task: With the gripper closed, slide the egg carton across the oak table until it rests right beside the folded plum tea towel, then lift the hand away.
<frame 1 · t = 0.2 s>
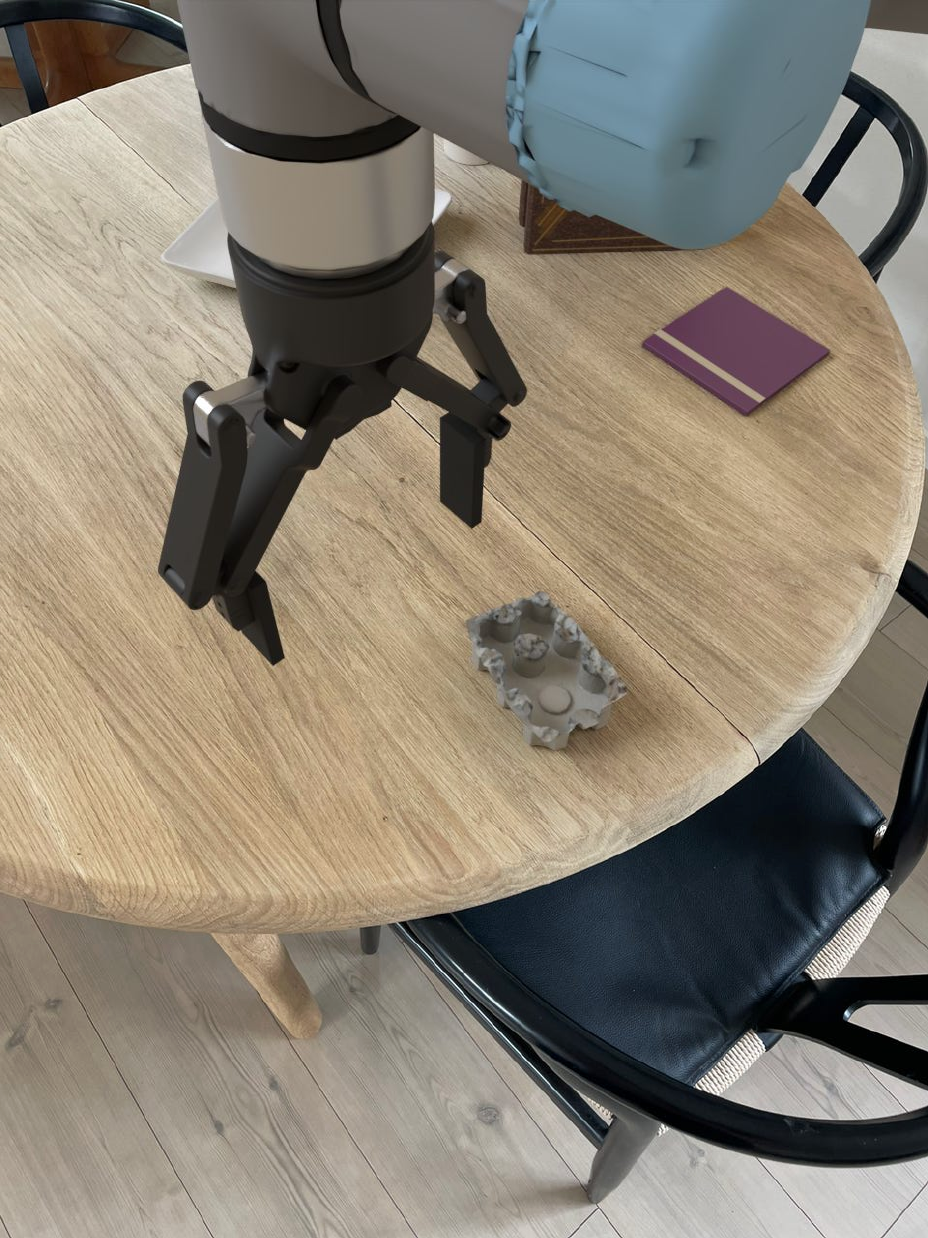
hand: (367, 575, 52), 16 cm above the table, tool pointing down, fingers open, 13 cm apart
vase: (495, 151, 106), on the table
plate: (315, 255, 95), on the table
book: (603, 234, 98), on the table
tea towel: (734, 350, 88), on the table
egg carton: (538, 685, 68), on the table
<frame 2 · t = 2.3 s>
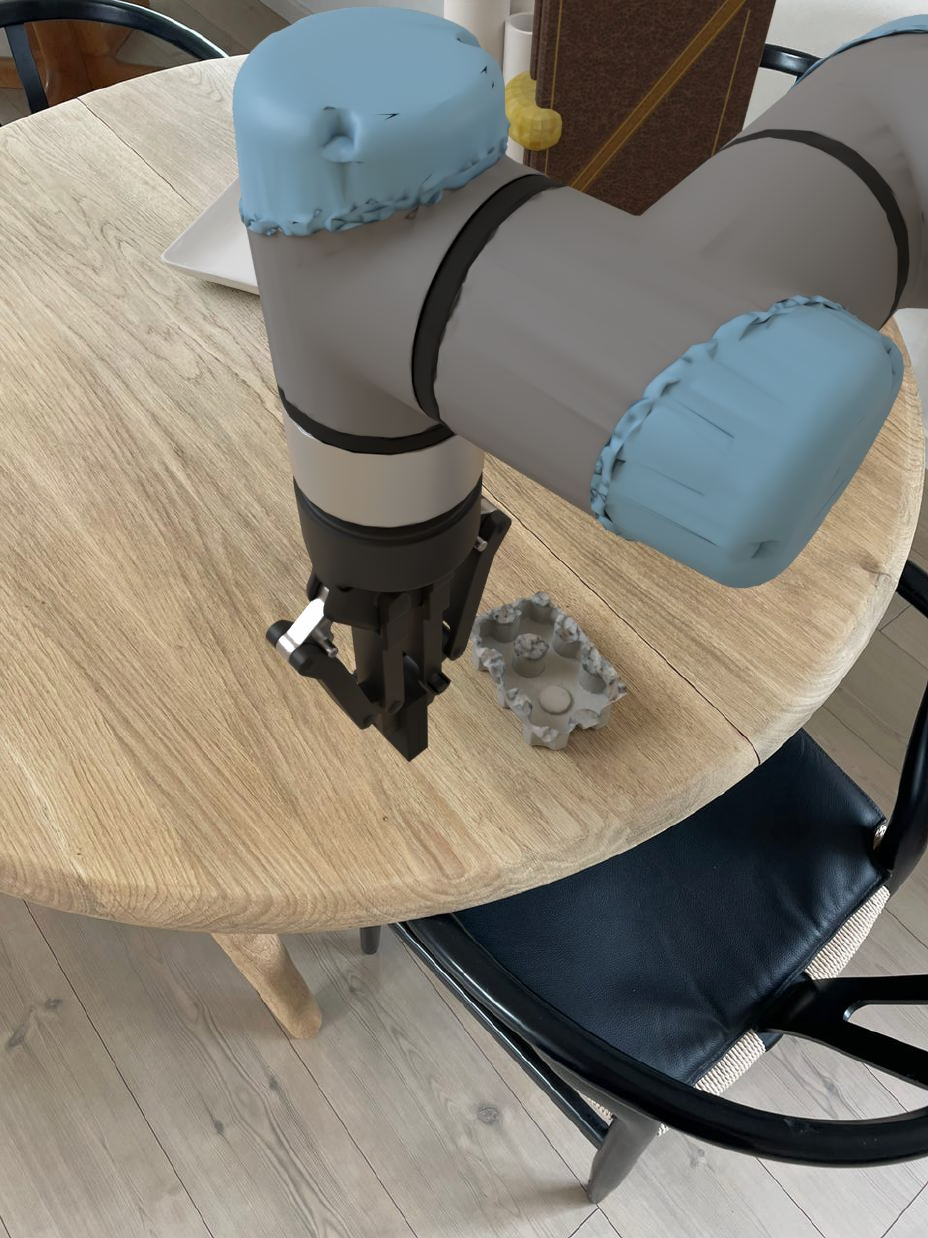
hand: (403, 739, 58), 7 cm above the table, tool pointing down, fingers closed
nothing on the table moved.
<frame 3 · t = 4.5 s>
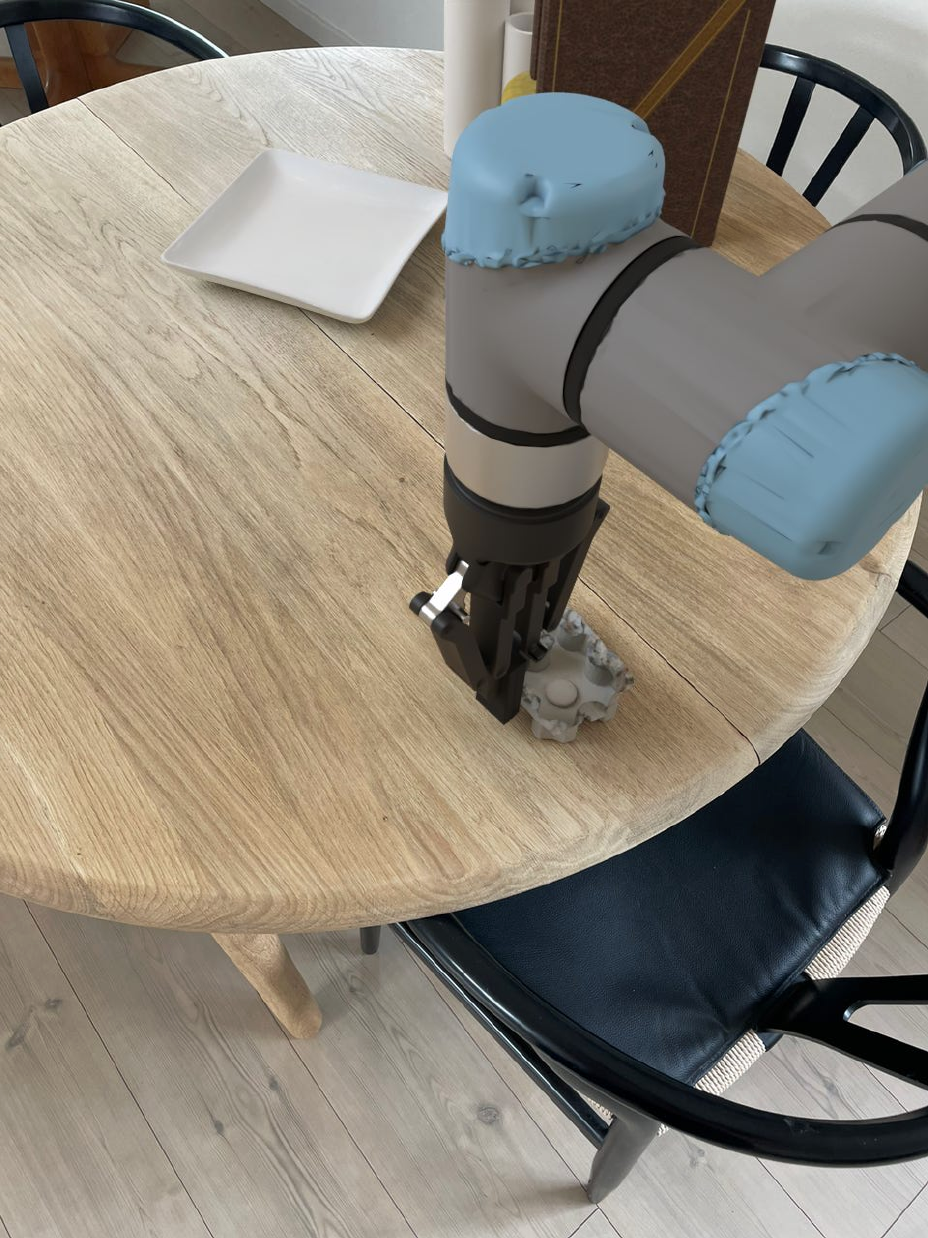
hand: (497, 705, 65), 2 cm above the table, tool pointing down, fingers closed
egg carton: (544, 679, 68), on the table, touching gripper
everything else where it was.
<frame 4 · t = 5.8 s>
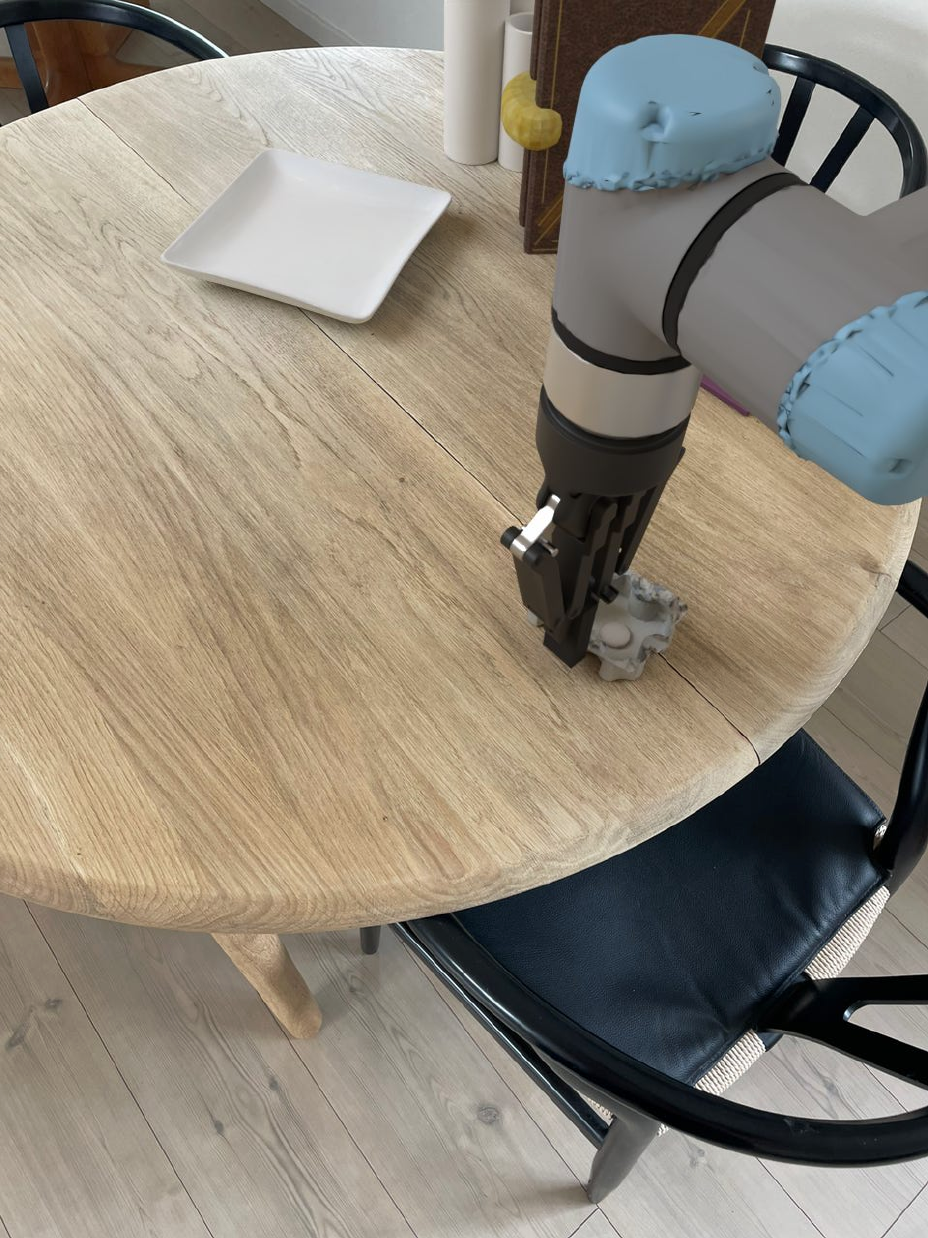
hand: (564, 650, 67), 2 cm above the table, tool pointing down, fingers closed
egg carton: (594, 626, 71), on the table, touching gripper
everything else where it was.
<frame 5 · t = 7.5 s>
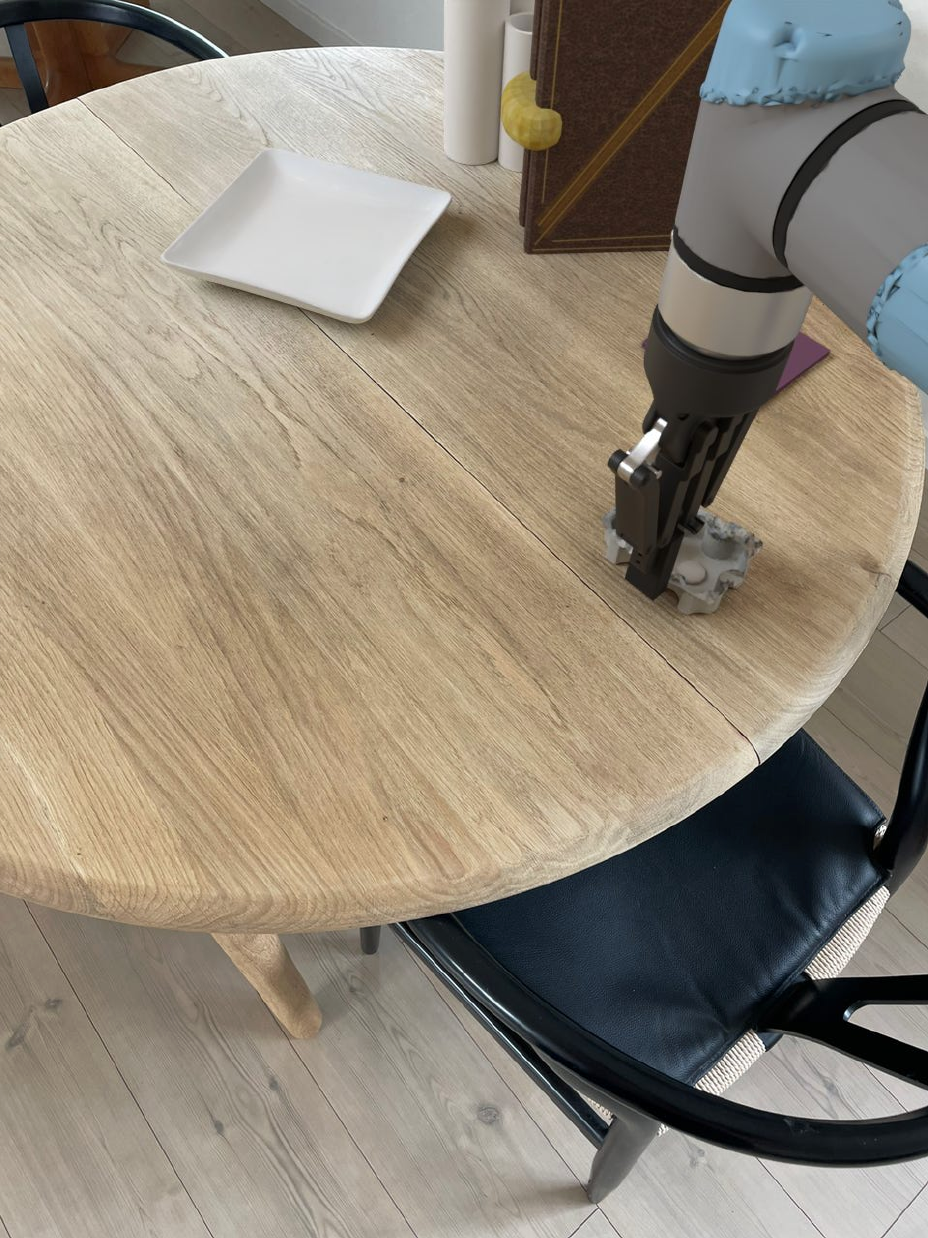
hand: (645, 584, 70), 2 cm above the table, tool pointing down, fingers closed
egg carton: (670, 564, 74), on the table, touching gripper
everything else where it was.
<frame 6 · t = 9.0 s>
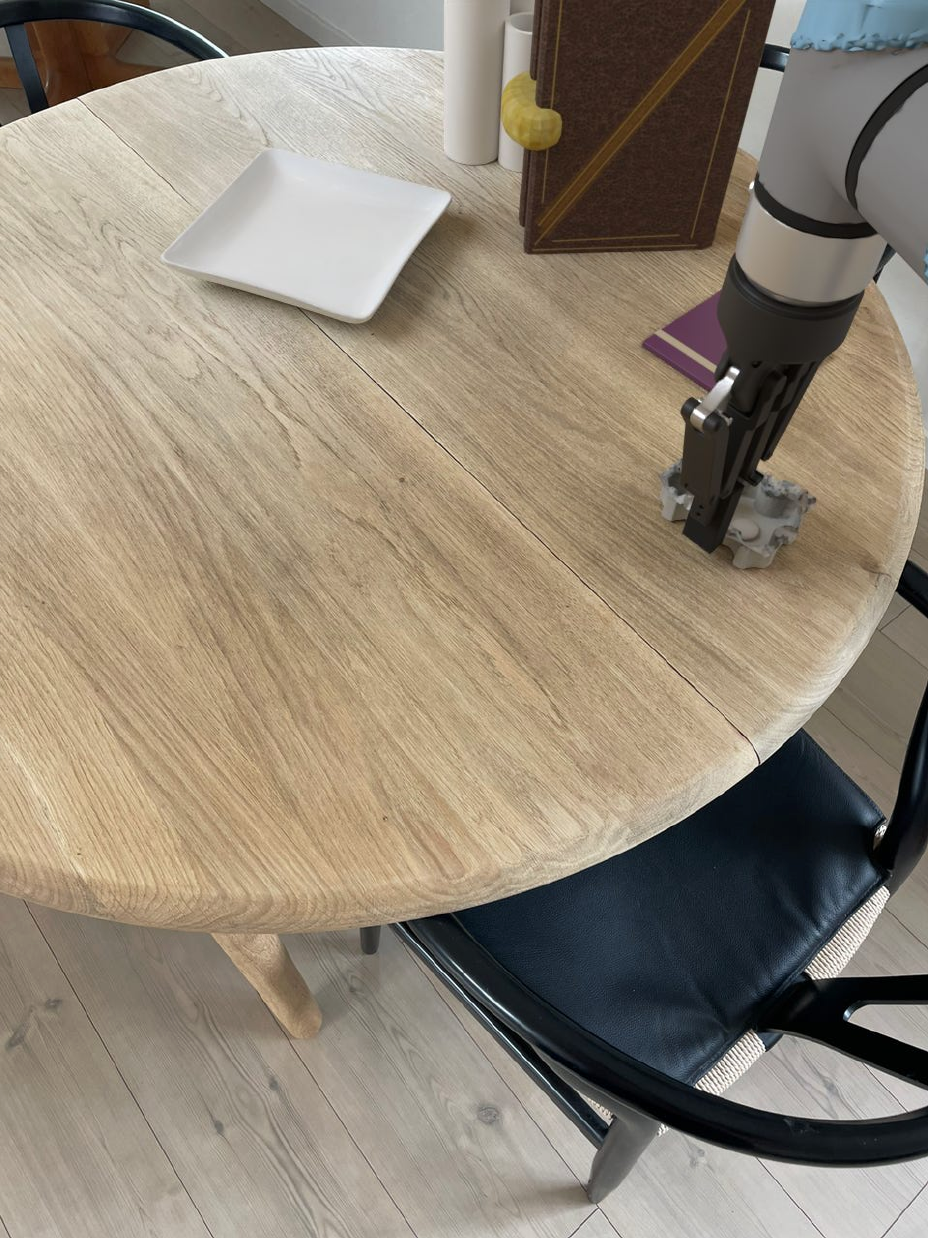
hand: (701, 538, 73), 2 cm above the table, tool pointing down, fingers closed
egg carton: (724, 522, 77), on the table, touching gripper
everything else where it was.
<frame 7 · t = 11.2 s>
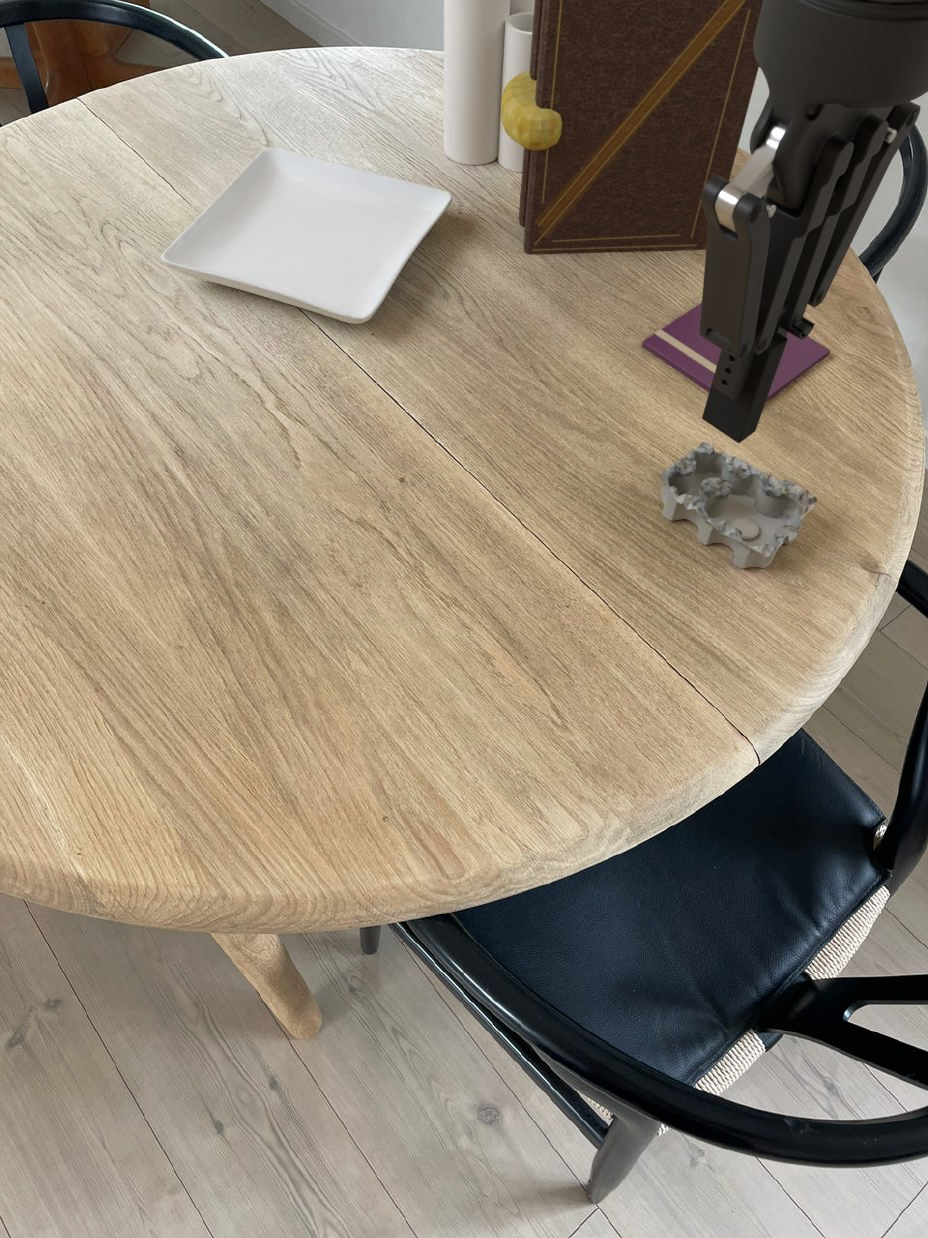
hand: (728, 424, 56), 19 cm above the table, tool pointing down, fingers closed
egg carton: (724, 521, 77), on the table
everything else where it was.
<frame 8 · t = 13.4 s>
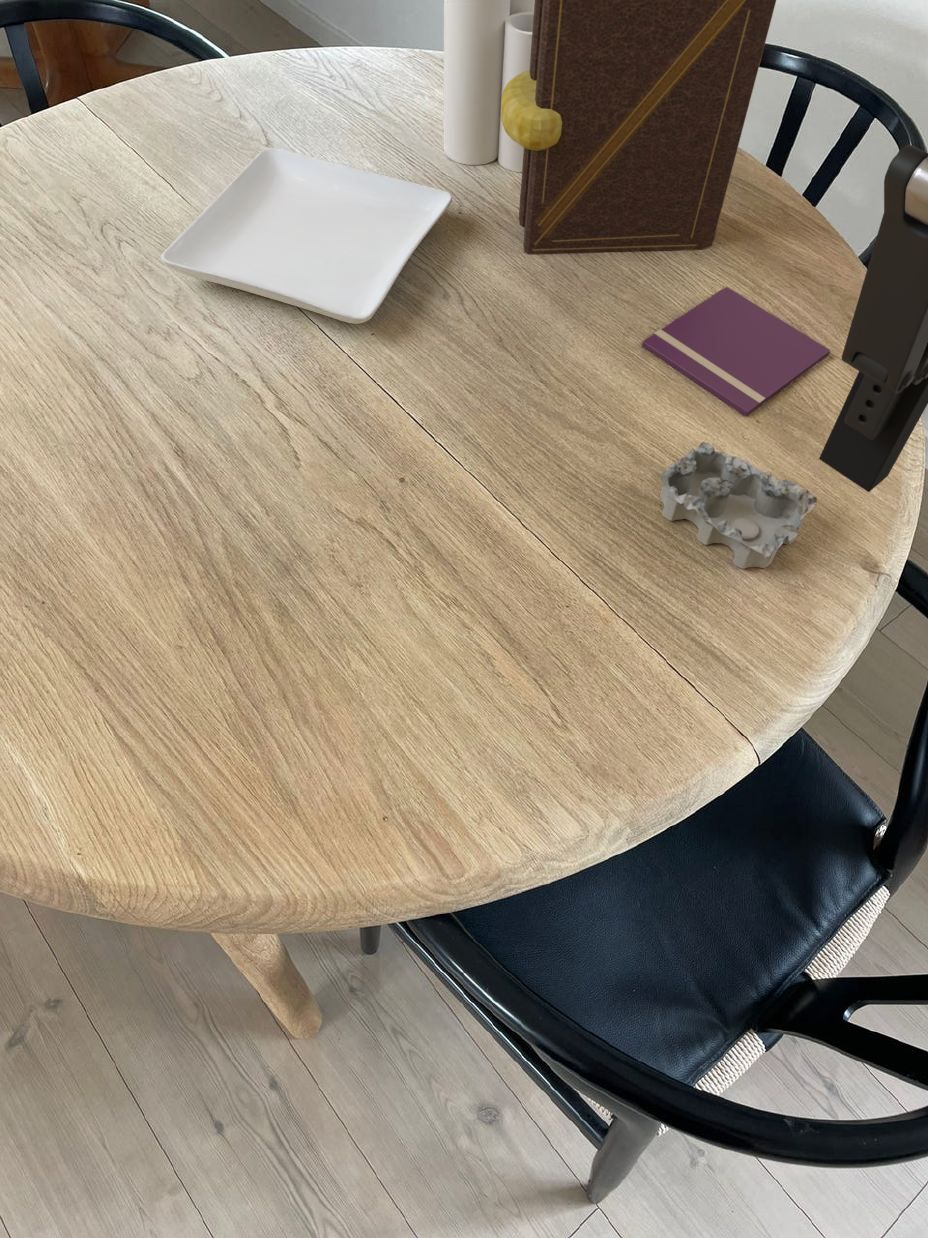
hand: (853, 467, 44), 26 cm above the table, tool pointing down, fingers closed
nothing on the table moved.
at the end: egg carton inside the target area on the table beside the tea towel (2.0 cm from its centre), on the table; egg carton moved 21.6 cm from its start; egg carton tilted 0° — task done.
